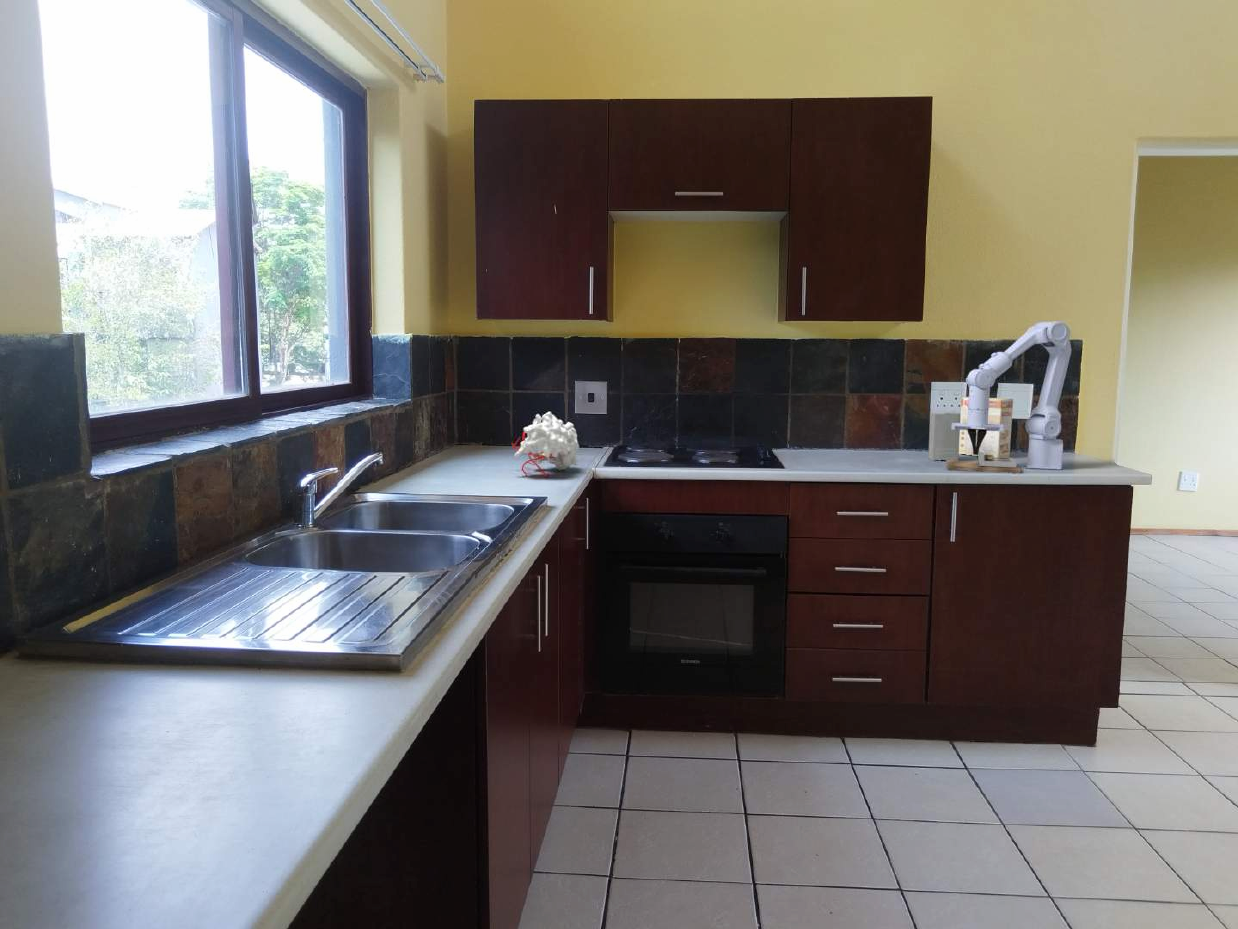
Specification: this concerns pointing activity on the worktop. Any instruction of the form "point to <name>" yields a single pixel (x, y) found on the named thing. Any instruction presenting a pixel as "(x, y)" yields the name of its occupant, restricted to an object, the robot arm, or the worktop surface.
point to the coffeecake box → (993, 440)
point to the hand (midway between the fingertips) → (975, 454)
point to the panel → (995, 460)
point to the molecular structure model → (549, 443)
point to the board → (975, 466)
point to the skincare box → (943, 435)
